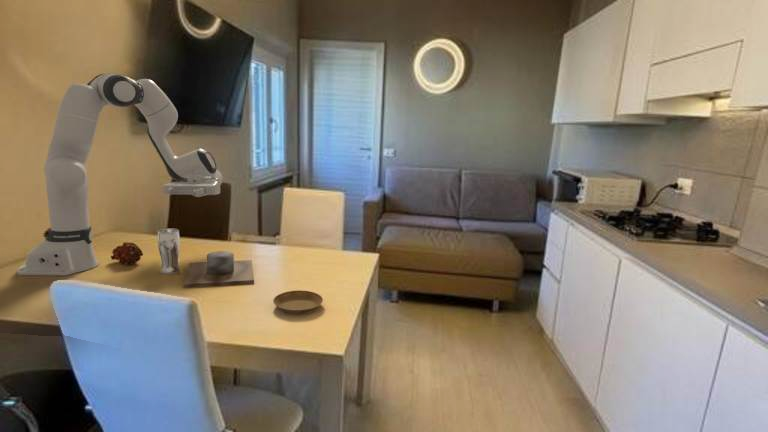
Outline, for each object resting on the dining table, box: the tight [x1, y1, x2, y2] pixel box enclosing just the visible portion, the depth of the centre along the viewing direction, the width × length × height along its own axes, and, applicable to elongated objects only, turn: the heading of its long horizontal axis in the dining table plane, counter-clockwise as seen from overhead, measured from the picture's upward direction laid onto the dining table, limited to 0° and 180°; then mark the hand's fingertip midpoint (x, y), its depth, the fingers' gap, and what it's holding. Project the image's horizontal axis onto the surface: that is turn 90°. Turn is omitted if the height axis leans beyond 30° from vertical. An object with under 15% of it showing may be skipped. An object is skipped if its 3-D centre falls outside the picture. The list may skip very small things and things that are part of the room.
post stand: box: [183, 250, 255, 288], centre depth 154 cm, size 22×22×7 cm
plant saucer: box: [272, 290, 324, 316], centre depth 131 cm, size 15×15×3 cm
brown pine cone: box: [110, 241, 144, 265], centre depth 160 cm, size 8×8×12 cm
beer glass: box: [157, 227, 181, 275], centre depth 153 cm, size 7×7×15 cm
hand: (182, 192), depth 160 cm, fingers open, 8 cm apart
